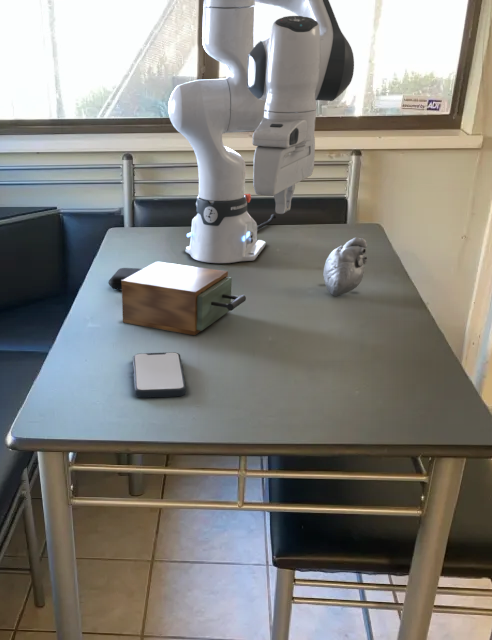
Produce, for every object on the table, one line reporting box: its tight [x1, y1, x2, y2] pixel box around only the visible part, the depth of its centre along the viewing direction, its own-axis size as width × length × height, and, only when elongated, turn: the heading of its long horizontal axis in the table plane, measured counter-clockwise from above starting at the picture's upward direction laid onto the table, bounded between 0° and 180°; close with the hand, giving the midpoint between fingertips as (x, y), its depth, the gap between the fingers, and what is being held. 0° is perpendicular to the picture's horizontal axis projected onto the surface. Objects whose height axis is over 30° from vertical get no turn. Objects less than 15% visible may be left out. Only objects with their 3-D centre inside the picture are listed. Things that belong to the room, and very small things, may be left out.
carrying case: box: [108, 267, 143, 291], centre depth 185 cm, size 11×3×15 cm
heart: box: [322, 237, 368, 297], centre depth 176 cm, size 10×10×12 cm
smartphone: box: [132, 351, 187, 399], centre depth 143 cm, size 9×2×16 cm
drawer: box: [196, 276, 247, 332], centre depth 165 cm, size 20×13×7 cm, turn 59°
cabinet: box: [121, 260, 229, 336], centre depth 167 cm, size 17×15×9 cm
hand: (282, 212), depth 149 cm, fingers closed
